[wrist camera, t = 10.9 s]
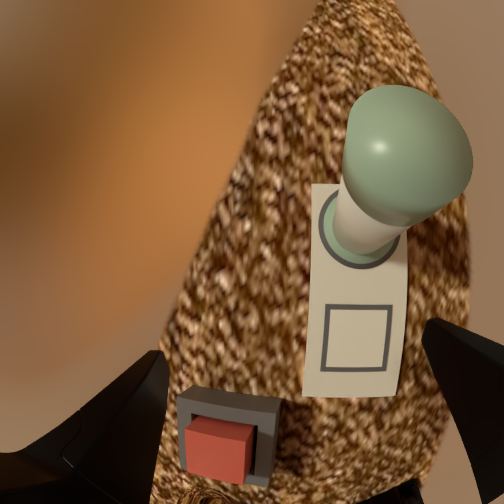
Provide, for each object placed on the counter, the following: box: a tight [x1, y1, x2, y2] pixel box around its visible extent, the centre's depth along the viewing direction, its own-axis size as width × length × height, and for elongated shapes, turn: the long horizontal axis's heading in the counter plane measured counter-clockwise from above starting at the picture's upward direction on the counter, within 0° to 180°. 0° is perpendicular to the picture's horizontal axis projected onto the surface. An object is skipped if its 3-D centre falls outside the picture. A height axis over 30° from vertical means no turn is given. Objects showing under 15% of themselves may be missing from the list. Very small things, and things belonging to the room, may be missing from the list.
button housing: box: [177, 385, 281, 487], centre depth 19 cm, size 8×8×3 cm
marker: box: [332, 85, 473, 255], centre depth 13 cm, size 5×5×13 cm
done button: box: [185, 415, 255, 485], centre depth 17 cm, size 4×4×3 cm
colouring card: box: [302, 184, 407, 397], centre depth 19 cm, size 17×8×1 cm, turn 177°
